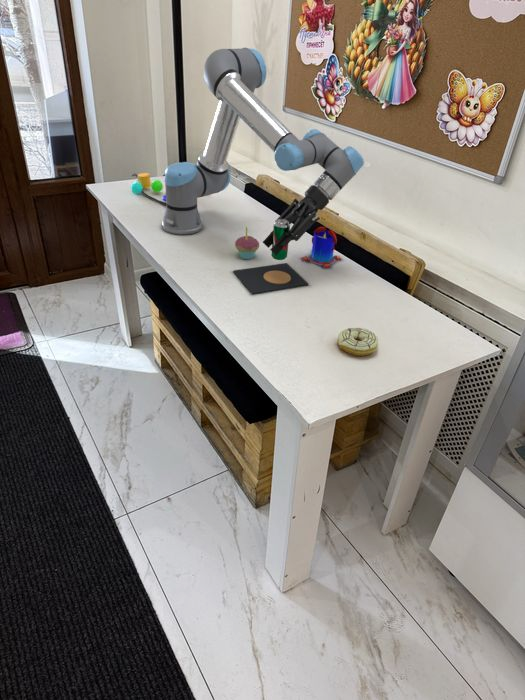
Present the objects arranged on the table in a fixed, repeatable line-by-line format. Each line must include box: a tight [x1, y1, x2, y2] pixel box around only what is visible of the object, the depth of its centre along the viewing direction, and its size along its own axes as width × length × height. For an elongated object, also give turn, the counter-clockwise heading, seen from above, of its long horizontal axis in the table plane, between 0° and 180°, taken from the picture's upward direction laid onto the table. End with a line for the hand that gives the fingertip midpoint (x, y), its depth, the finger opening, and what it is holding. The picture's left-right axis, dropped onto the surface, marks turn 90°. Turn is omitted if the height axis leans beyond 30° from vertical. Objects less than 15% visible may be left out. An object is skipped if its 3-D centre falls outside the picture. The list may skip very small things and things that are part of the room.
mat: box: [232, 262, 309, 296], centre depth 166 cm, size 16×20×1 cm
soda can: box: [271, 218, 291, 261], centre depth 159 cm, size 5×5×12 cm
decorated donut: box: [337, 327, 379, 357], centre depth 137 cm, size 10×11×4 cm
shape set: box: [130, 172, 166, 202], centre depth 223 cm, size 29×35×7 cm
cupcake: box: [234, 225, 260, 260], centre depth 176 cm, size 9×8×12 cm
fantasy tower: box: [301, 226, 342, 269], centre depth 178 cm, size 12×12×12 cm
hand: (269, 248), depth 159 cm, fingers closed on soda can, 5 cm apart
